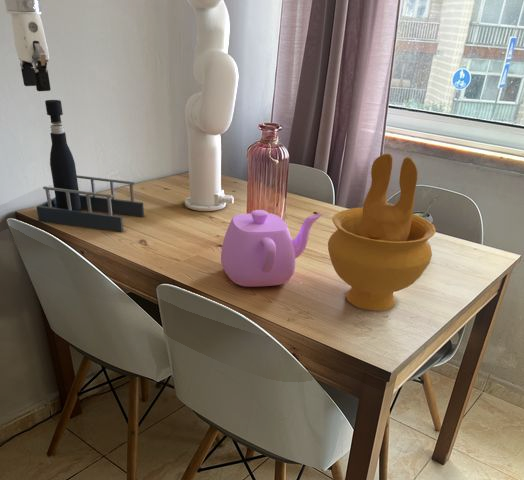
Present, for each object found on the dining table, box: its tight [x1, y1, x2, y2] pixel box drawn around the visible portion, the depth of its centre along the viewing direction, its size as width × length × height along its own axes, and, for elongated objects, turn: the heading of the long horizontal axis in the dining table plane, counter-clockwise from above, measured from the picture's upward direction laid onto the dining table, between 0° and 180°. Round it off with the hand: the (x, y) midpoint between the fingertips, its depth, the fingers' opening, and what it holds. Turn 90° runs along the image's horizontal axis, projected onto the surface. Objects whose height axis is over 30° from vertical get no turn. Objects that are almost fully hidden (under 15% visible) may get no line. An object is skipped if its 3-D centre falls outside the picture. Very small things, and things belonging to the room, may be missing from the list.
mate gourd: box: [412, 193, 444, 242], centre depth 144 cm, size 8×8×15 cm
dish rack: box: [36, 174, 145, 233], centre depth 152 cm, size 25×14×10 cm, turn 76°
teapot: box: [220, 209, 323, 287], centre depth 121 cm, size 23×21×15 cm
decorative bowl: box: [327, 153, 437, 312], centre depth 111 cm, size 21×21×30 cm
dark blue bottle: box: [44, 99, 83, 211], centre depth 148 cm, size 6×6×30 cm
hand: (37, 88), depth 135 cm, fingers open, 9 cm apart
